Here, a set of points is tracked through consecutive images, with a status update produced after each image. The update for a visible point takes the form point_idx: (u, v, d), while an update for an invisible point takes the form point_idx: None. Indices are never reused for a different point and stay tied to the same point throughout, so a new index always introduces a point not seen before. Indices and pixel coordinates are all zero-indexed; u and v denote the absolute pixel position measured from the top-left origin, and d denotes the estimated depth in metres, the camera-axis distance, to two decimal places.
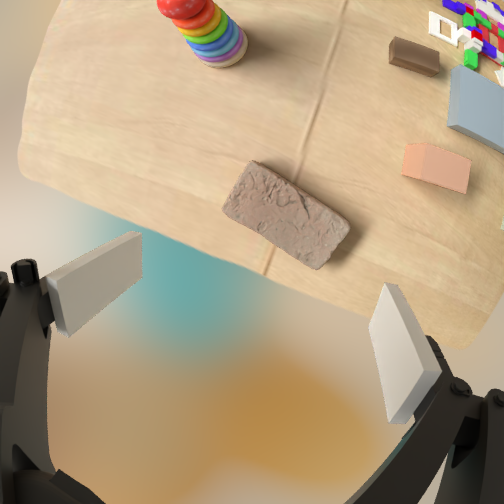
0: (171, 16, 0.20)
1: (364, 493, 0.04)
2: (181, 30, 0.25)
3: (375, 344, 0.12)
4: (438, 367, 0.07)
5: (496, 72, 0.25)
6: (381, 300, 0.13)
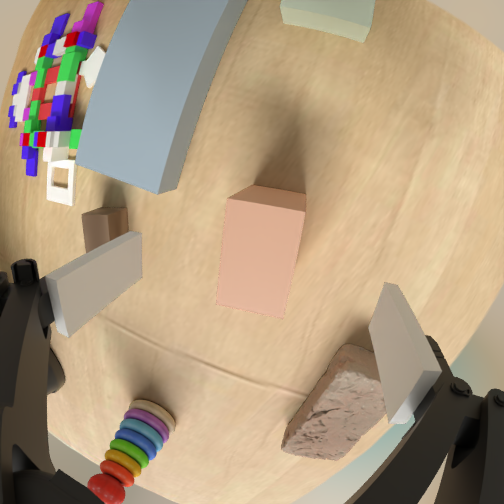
0: (122, 501, 0.22)
1: (364, 493, 0.04)
2: (136, 476, 0.27)
3: (375, 344, 0.12)
4: (438, 367, 0.07)
5: (89, 85, 0.22)
6: (381, 300, 0.13)
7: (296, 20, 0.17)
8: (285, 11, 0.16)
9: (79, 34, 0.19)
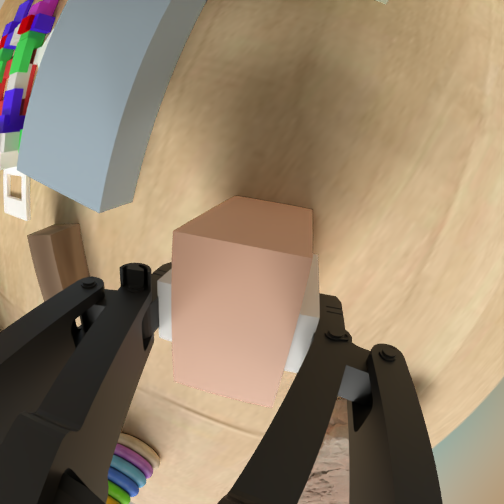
0: None
1: (257, 449, 0.05)
2: None
3: None
4: (316, 314, 0.10)
5: None
6: None
7: None
8: None
9: (34, 17, 0.12)
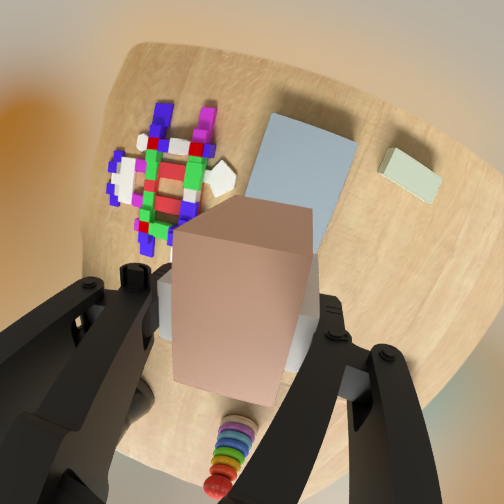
0: None
1: (257, 449, 0.05)
2: None
3: None
4: (316, 314, 0.10)
5: (217, 196, 0.36)
6: None
7: (387, 177, 0.30)
8: (384, 175, 0.29)
9: (204, 146, 0.33)
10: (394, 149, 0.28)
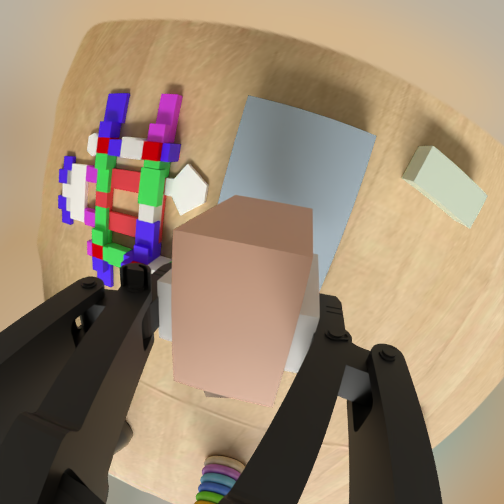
0: None
1: (257, 448, 0.05)
2: None
3: None
4: (316, 314, 0.10)
5: (183, 213, 0.27)
6: None
7: (415, 187, 0.21)
8: (414, 183, 0.20)
9: (162, 146, 0.23)
10: (430, 148, 0.18)
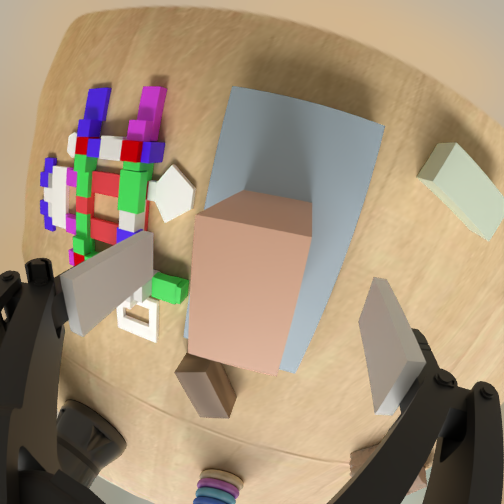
0: None
1: (351, 486, 0.04)
2: None
3: (364, 338, 0.12)
4: (422, 358, 0.07)
5: (167, 220, 0.23)
6: (370, 294, 0.13)
7: (432, 188, 0.18)
8: (432, 184, 0.16)
9: (143, 145, 0.20)
10: (453, 145, 0.15)
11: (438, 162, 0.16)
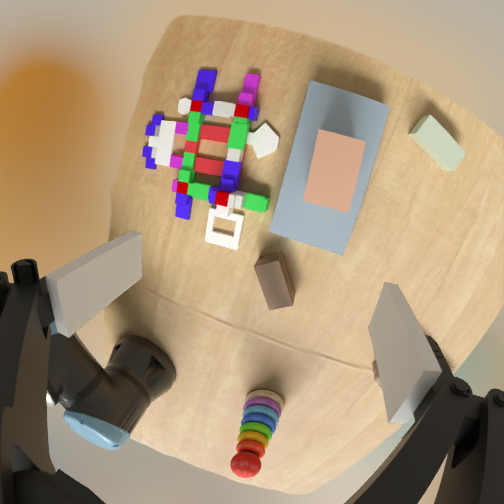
0: None
1: (364, 493, 0.04)
2: None
3: (375, 344, 0.12)
4: (438, 367, 0.07)
5: (259, 157, 0.36)
6: (381, 300, 0.13)
7: (417, 140, 0.30)
8: (416, 135, 0.29)
9: (250, 108, 0.33)
10: (428, 115, 0.27)
11: (420, 124, 0.28)
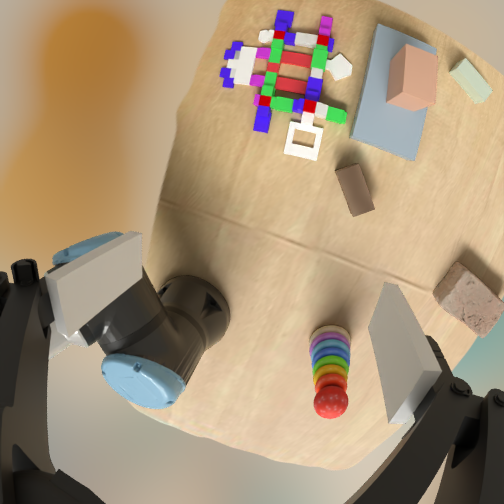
0: None
1: (364, 493, 0.04)
2: None
3: (375, 344, 0.12)
4: (438, 367, 0.07)
5: (336, 79, 0.36)
6: (381, 300, 0.13)
7: (456, 76, 0.30)
8: (456, 71, 0.28)
9: (329, 39, 0.32)
10: (464, 59, 0.27)
11: (458, 64, 0.28)
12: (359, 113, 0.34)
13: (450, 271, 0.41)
